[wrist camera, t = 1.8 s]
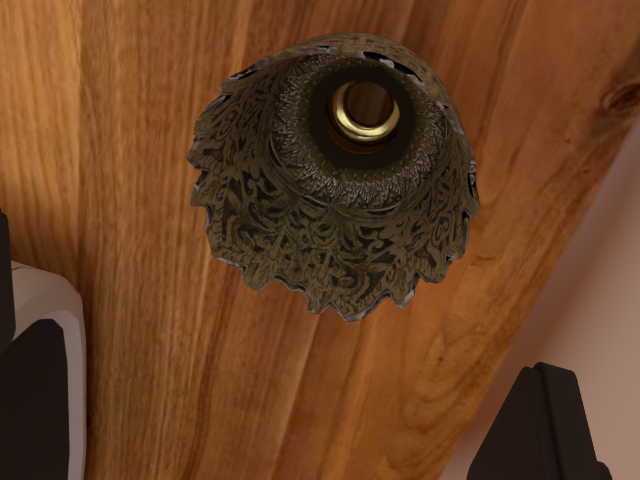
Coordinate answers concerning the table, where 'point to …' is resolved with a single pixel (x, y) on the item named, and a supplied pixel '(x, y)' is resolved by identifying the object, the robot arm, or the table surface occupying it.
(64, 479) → the alarm clock
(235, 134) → the brown jagged-rimmed vessel
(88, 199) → the table surface
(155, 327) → the table surface
